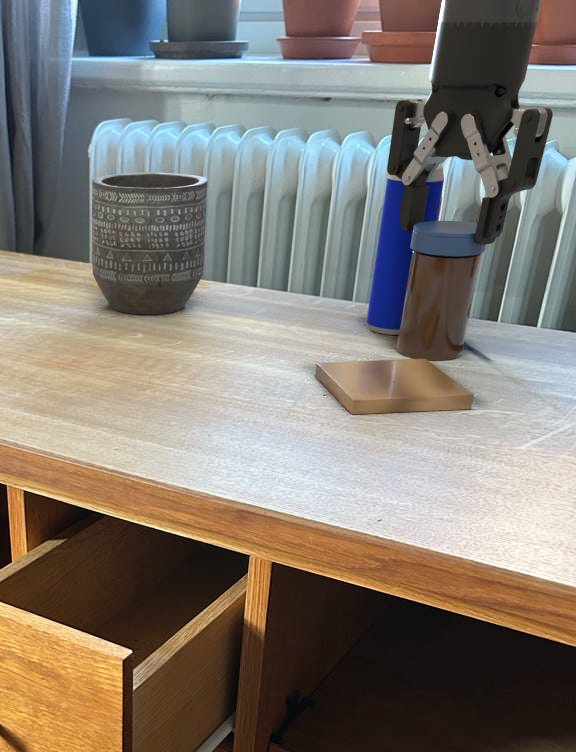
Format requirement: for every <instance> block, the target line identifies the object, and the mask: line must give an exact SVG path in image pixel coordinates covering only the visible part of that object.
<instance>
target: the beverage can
mask: <svg viewBox="0 0 576 752" xmlns="http://www.w3.org/2000/svg"><path fill="white" fill-rule="evenodd" d="M444 183H445V173H444V167H443V166H440V165H439V166H438V167H437V169H436V170H435V171H434V173H433V174H432V176H431V177H430V178H429V180H428V181H427V182H426V184H425V185H427V186H429V192H428V197H427V203H426V209H425V214H424V220H423V222H427V221H438V218H439V217H438V216H439V210H440V205H441V200H442V195H443V189H444ZM403 191H404V184H403V182H402V180H401V179H400V178H398V177H397V176H395V175H389V174H388V175H387V178H386V186H385V191H384V197H383V198H384V199H383V205H382V213H381V221H380V224H379V234H378V240H377V247H376V253H375V261H374V266H373V275H372V280H371V281H372V282H371V287H370V296H369V302H368V308H367V315H366V324H367V327H368V328H369V329H370V330H371V331H372V332H374V333H378V334H382V335H389V336H398V335H399V329H400V322H401V316H402V310H403V304H404V298H405V292H406V286H407V279H408V273H409V267H410V261H411V255H412V249H411V247H410V245H411V239H412V233H413V231H410V232H409V231H404V230H402V228H401V225H402V223H400V218H399V216H400V210H401V205H402V204H401V203H402V197H403Z"/></svg>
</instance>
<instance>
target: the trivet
mask: <svg viewBox="0 0 576 752" xmlns="http://www.w3.org/2000/svg"><path fill="white" fill-rule="evenodd" d="M314 377H315V378H316V379H317V380H318V381H319V382H320V383H321V384H322V385H323V386H324V387H325V388H326V389H327V390H328V391H329V392H330V394H331V395H332V396H333V397H334V398H335V399H336V400H337V401H338V402H339V403H340V404H341V405H342V406H343V407H344V408H345V409H346V410H347V411H348V412H349V413H350V414H351V415H367V414H369V415H370V414H371V415H372V414H390V413H391V414H392V413H394V414H395V413H413V412H434V411H437V412H439V411H456V410H471V409H472V406H473V401H474V398H475V397H474V396H475V394H473V393H472V392H471V391H470V390H468V389H467V388H465V387H464V386H463V385H461V384H460V383H459V382H458V381H456V380H454V379H453V378H452V377H451V376H450V375H448V374H447V373H446V372H444V371H443V370H441V369H440V368H438V367H437V366H436V365H435V364H434V363H432V362H430V360H426V359H416V358H405V359H404V358H403V359H382V360H360V361H359V360H358V361H357V360H355V361H354V360H353V361H334V362H333V361H332V362H316V364H315V373H314Z"/></svg>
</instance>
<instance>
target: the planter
mask: <svg viewBox="0 0 576 752" xmlns="http://www.w3.org/2000/svg"><path fill="white" fill-rule="evenodd" d="M208 182H209V181H208V178H207V177H204V176H200V175H195V174H185V173H174V172H173V173H172V172H158V171H147V172H146V171H145V172H144V171H143V172H127V173H126V172H125V173H113V174H106V175H102V176H98V177H94V178H93V179H92V180H91V186H92V188H91V189H92V190H91V191H92V192H91V194H92V196H91V197H92V199H91V203H92V204H91V206H92V207H91V228H92V229H91V230H92V231H91V232H92V246H91V247H92V249H91V250H92V251H91V253H92V254H91V264H92V265H91V266H92V276H93V278H94V280H95V282H96V284H97V286H98V288H99V289H100V291H101V293H102V295H103V296H104V298H105V300H106V301H107V303H108V304H109V306H110V308H111V309H113V310H115V311H117V312H120V313H124V314H131V315H141V316H143V315H144V316H145V315H146V316H147V315H148V316H149V315H150V316H151V315H165V314H170V313H174V312H178V311H180V310H182V309H183V308H184V307H185V305H186V304H187V303H188V301H189V300H190V298H191V297H192V295H193V293H194V291H195V290H196V288H197V287H198V285H199V283H200V281H201V279H202V277H203V275H204V268H205V249H206V248H205V247H206V246H205V244H206V243H205V242H206V241H205V239H206V226H207V225H206V224H207V207H208V205H207V204H208V202H207V201H208V199H207V197H208Z"/></svg>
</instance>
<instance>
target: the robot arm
mask: <svg viewBox="0 0 576 752" xmlns="http://www.w3.org/2000/svg"><path fill="white" fill-rule="evenodd" d="M542 1H543V0H441V5H440V12H439V17H438V22H437V23H438V24H437V30H436V34H435V35H436V36H435V41H434V47H433V54H432V57H431V58H432V59H431V65H430V69H429V70H430V71H429V82H430V83H431V91H430V93H429V95H428V97H427V99H426V101H423V100H422V99H420V98H419V99H418V98H410V99H402V100H398V101H397V103H396V105H395V107H394V108H395V109H394V110H395V111H394V115H393V123H392V131H391V139H390V146H389V150H388V151H389V152H388V158H387V166H386V171H387V174H388V175H395V176H397V177H398V178H400V179H401V180H402V182H403V184H404V191H403V197H402V203H401V204H402V205H401V210H400V216H399V218H400V223H402V225H401V228H402V230H404V231H409V232H410V231H413V227H414V225H415V224H417V223H420V222H423V220H424V214H425V209H426V203H427V197H428V192H429V186H427V185H425V184H426V182H427V181H428V180H429V178H430V177H431V176H432V174H433V173H434V171H435V170H436V169H437V167H438V166H440V165H441V164H442V163H444V162H446V160H448V158H454V157H456V158H459V159H460V160H463V161H472V163H473V166H474V169H475V171H476V172H477V173H478V174H479V175H480V178H481V182H482V186H483V188H484V191H485V192H484V193H485V195H486V196H484V197H482V199H481V205H480V208H479V213H478V217H477V218H478V219H477V223H476V224H477V228H476V232H475V237H474V242H475V243H476V244H481V245H485V244H486V245H491V244H493V243H494V242H495V241H496V239H497V238H499V237H500V236H501V235H502V233H503V230H504V225H505V220H506V216H507V213H508V207H509V204H510V203H509V202H510V199H511V198H512V196H513V195H514V194H517V193H520V192H524V191H527V190H532V189H534V188H535V186H536V184H537V181H538V178H539V177H538V176H539V173H540V168H541V165H542V161H543V157H544V152H545V149H546V145H547V142H548V141H547V140H548V137H549V133H550V128H551V124H552V120H553V116H554V113H553V110H552V109H551V108H550V107H540V108H522V107H520V101H519V93H520V90H521V88H522V86H523V85H524V82H525V80H526V76H527V71H528V68H529V62H530V57H531V54H532V53H531V52H532V48H533V43H534V39H535V34H536V30H537V25H538V19H539V16H540V11H541V6H542ZM424 124H426V127H427V130H428V131H427V132H426V133H425V135H424V137H423V138H422V140H421V141H420V137H421V131H422V127H423V125H424ZM513 127H514V129H513V131H512V132H513V134H514V136H515V138H516V139H515V143H514V148H513V152H512V153H511V151H510V147H509V143H508V140H507V137H506V135H507V134H508V133H509V132H510V130H511V129H512V128H513ZM419 142H420V143H419Z"/></svg>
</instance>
